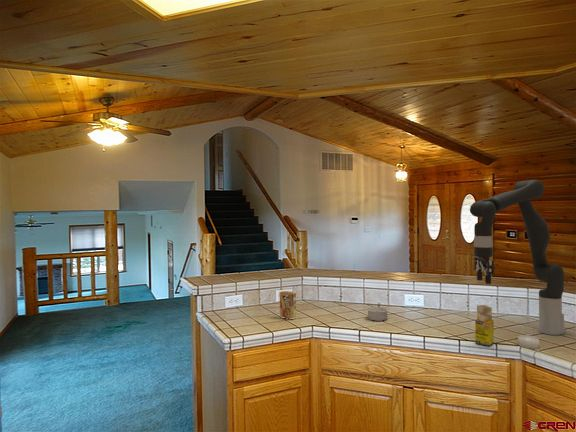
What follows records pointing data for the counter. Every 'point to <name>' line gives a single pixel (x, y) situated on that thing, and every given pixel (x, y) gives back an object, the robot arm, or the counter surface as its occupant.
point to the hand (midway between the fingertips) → (483, 281)
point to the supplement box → (484, 332)
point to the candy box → (288, 304)
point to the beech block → (484, 313)
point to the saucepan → (377, 313)
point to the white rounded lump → (528, 341)
